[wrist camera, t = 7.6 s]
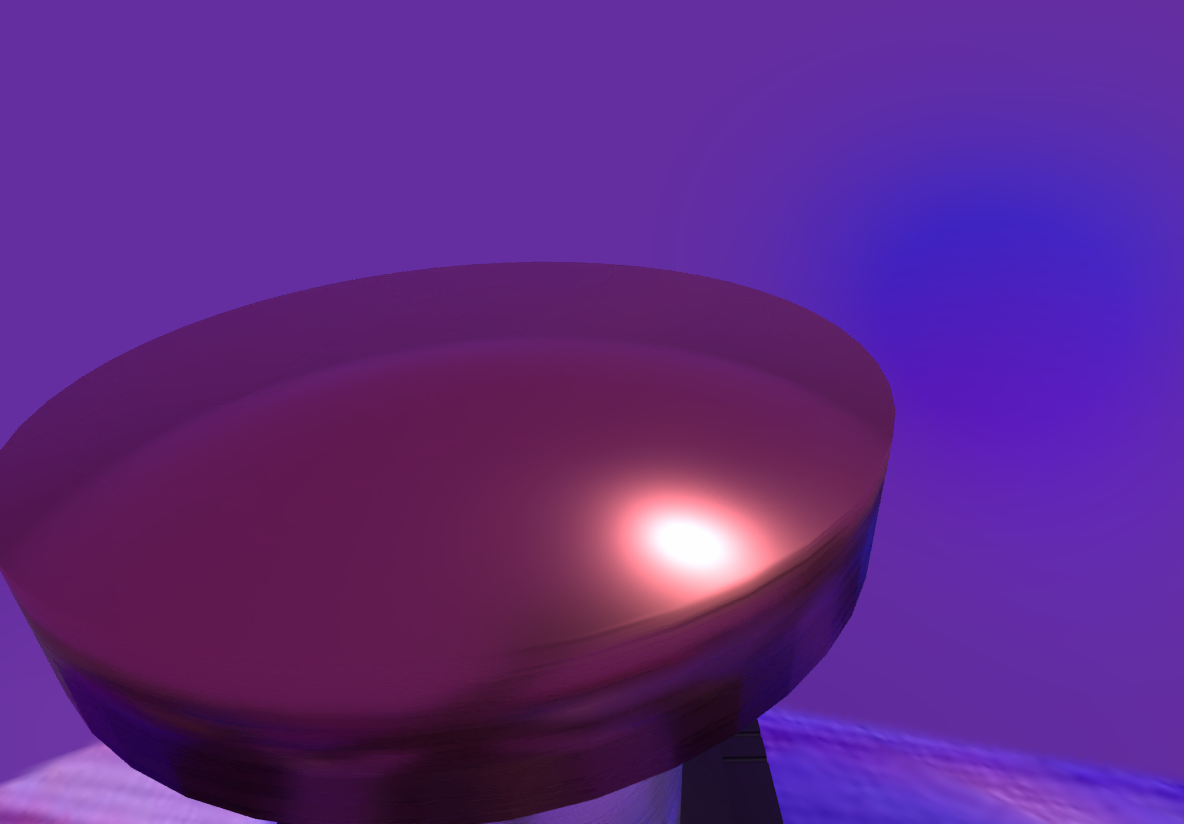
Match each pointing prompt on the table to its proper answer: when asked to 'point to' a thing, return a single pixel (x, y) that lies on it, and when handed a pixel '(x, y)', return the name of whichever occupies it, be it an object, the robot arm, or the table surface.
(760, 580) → the mushroom shaped post
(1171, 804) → the table surface
